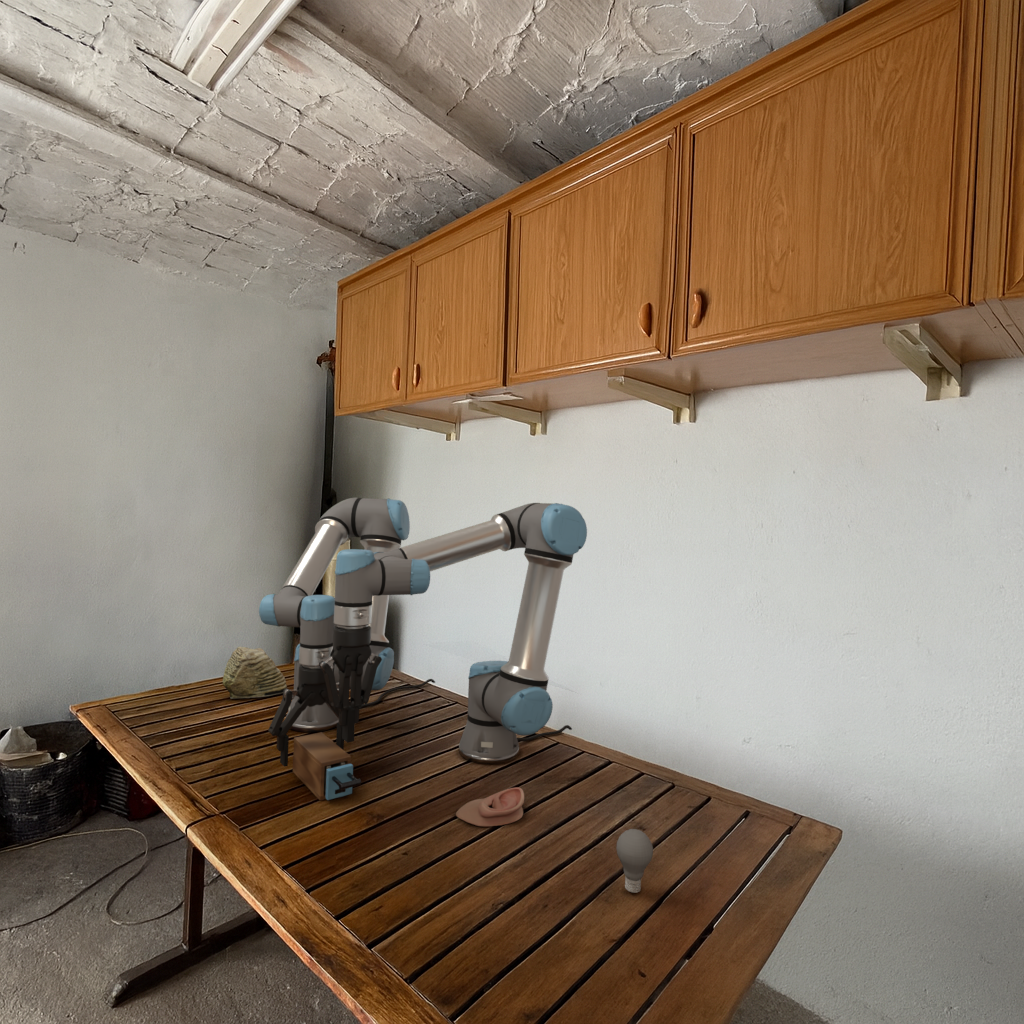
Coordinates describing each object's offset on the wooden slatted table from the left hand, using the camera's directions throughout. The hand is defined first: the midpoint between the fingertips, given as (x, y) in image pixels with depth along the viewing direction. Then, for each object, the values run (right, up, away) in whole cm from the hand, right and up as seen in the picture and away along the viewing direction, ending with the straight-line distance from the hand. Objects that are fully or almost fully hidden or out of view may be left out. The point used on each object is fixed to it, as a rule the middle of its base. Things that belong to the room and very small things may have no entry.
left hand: (312, 758), depth 144 cm
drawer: (+6, -3, -8) cm, 11 cm away
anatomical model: (+41, -6, -15) cm, 44 cm away
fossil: (-35, -1, +54) cm, 64 cm away
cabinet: (+3, -4, -4) cm, 6 cm away
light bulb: (+66, -7, -39) cm, 76 cm away
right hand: (+12, +9, -15) cm, 21 cm away
